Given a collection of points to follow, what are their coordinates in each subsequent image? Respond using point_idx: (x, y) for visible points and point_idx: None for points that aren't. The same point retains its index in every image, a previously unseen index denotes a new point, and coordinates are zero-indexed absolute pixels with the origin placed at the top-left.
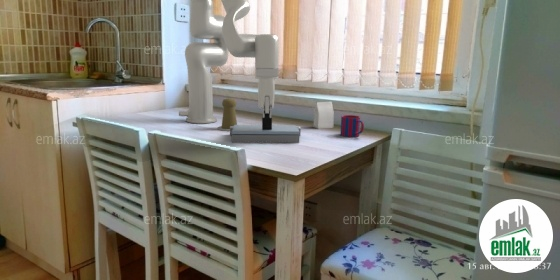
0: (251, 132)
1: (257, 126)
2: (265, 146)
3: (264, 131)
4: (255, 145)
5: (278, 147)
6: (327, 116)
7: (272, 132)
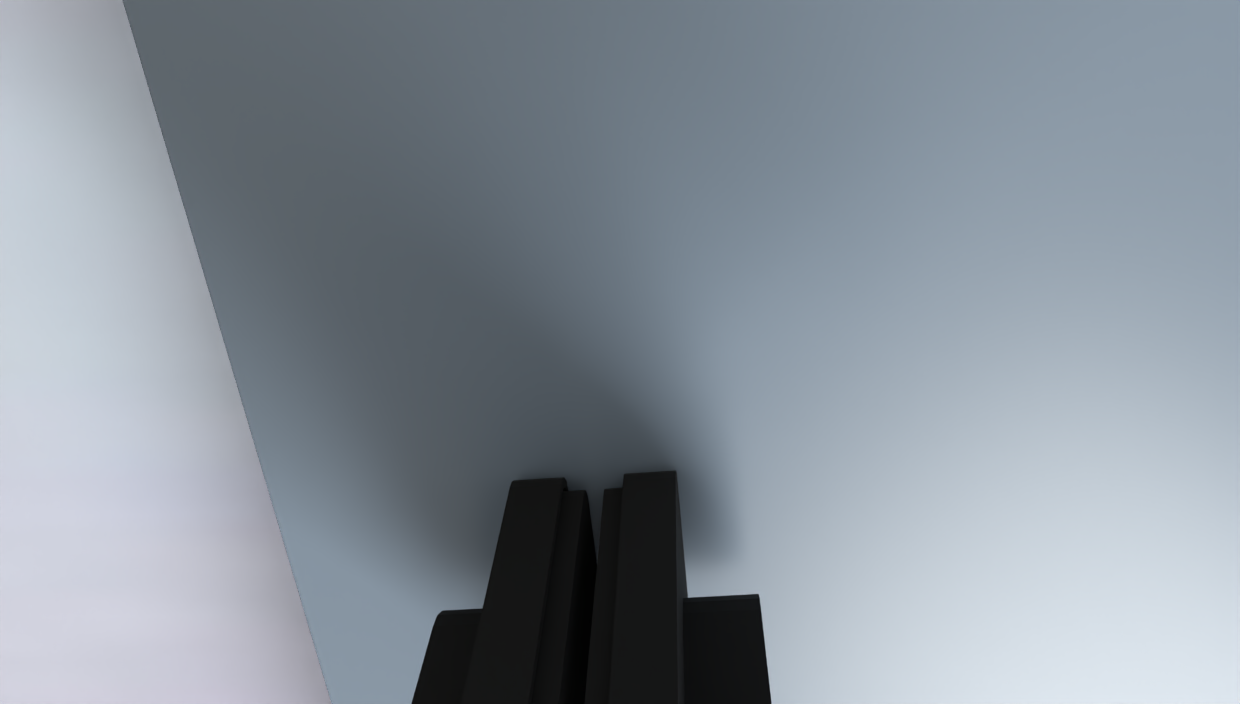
0: (180, 133)
1: (1223, 266)
2: (14, 406)
3: (287, 536)
4: (21, 184)
5: (31, 632)
6: None
7: (348, 699)
